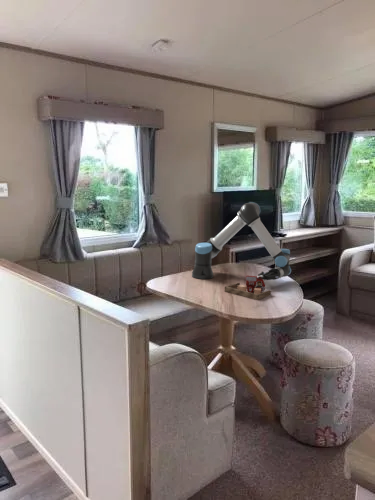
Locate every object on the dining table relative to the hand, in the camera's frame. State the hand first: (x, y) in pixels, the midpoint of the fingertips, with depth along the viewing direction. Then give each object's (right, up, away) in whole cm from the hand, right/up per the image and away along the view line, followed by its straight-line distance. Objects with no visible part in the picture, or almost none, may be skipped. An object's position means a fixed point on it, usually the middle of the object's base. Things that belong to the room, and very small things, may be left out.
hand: (256, 279), depth 262 cm
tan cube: (-1, -9, -10) cm, 13 cm away
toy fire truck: (-2, -8, -3) cm, 9 cm away
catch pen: (-7, -8, -6) cm, 12 cm away
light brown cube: (-11, -6, -6) cm, 14 cm away
